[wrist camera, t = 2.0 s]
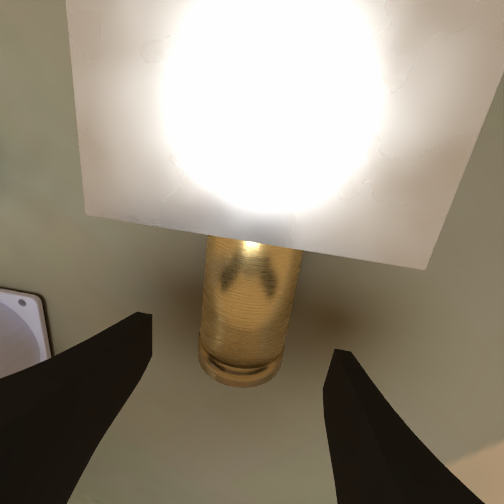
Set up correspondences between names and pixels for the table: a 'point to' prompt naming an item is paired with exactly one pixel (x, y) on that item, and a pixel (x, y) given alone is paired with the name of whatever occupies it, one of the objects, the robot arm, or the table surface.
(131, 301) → the table surface
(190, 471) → the table surface
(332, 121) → the housing
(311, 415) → the table surface
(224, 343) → the amber cylinder
